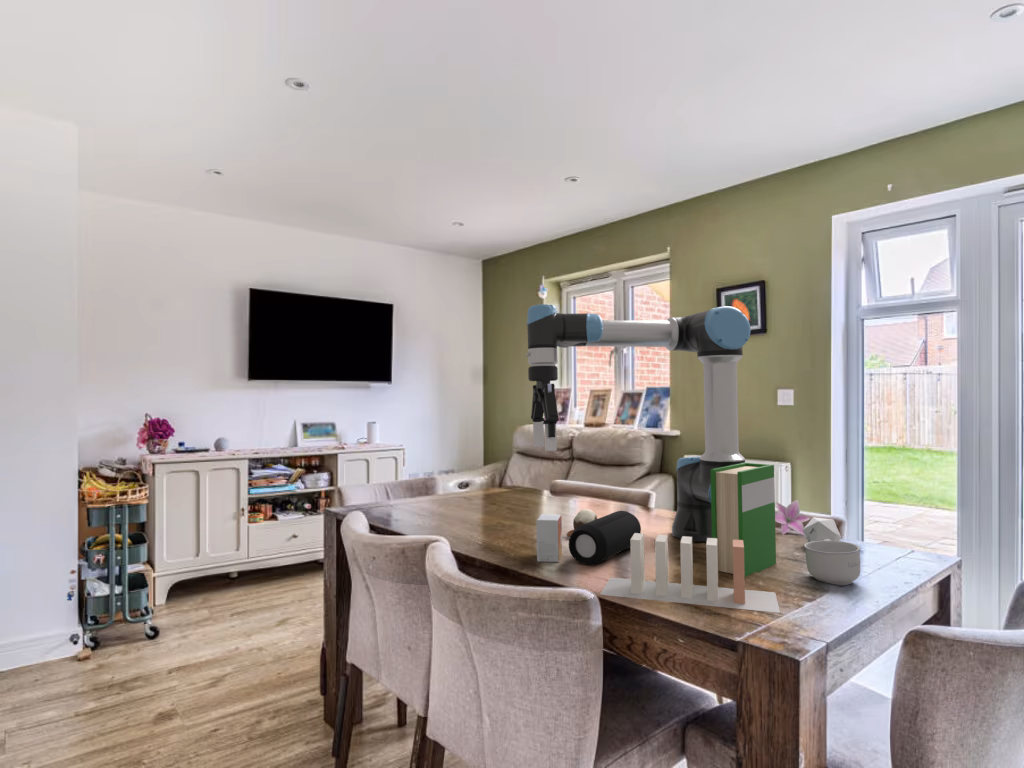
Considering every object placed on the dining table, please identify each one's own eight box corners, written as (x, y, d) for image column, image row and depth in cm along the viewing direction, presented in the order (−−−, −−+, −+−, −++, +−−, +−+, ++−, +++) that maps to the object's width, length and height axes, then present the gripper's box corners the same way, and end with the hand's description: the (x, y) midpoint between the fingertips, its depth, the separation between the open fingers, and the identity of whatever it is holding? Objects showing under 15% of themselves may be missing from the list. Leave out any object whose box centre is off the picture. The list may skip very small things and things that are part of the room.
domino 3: (681, 597, 120) (680, 542, 120) (683, 588, 126) (682, 536, 126) (691, 598, 119) (690, 543, 119) (693, 589, 125) (692, 536, 125)
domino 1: (631, 592, 123) (630, 539, 123) (635, 583, 129) (634, 533, 129) (641, 593, 123) (640, 540, 123) (644, 584, 128) (643, 533, 128)
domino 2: (655, 595, 122) (655, 541, 122) (658, 586, 127) (658, 534, 127) (666, 596, 121) (665, 541, 121) (668, 587, 127) (667, 535, 127)
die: (801, 545, 164) (793, 521, 160) (827, 529, 165) (820, 504, 160) (823, 563, 156) (816, 538, 152) (850, 546, 157) (844, 521, 153)
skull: (575, 524, 186) (595, 502, 182) (598, 550, 181) (619, 528, 178) (556, 531, 176) (577, 507, 172) (579, 558, 171) (601, 535, 168)
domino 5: (734, 602, 117) (733, 546, 117) (733, 593, 122) (732, 539, 122) (745, 604, 116) (743, 547, 116) (744, 594, 121) (743, 540, 122)
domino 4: (707, 600, 118) (706, 544, 118) (708, 590, 124) (707, 537, 124) (718, 601, 118) (716, 545, 118) (718, 591, 123) (717, 538, 123)
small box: (558, 563, 148) (558, 520, 148) (536, 562, 149) (536, 519, 149) (562, 554, 155) (562, 514, 156) (541, 553, 157) (540, 513, 157)
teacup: (860, 592, 123) (859, 553, 123) (802, 584, 129) (801, 547, 129) (862, 574, 135) (861, 539, 135) (809, 568, 141) (808, 534, 141)
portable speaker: (611, 543, 167) (610, 507, 167) (644, 547, 161) (643, 510, 162) (565, 564, 146) (565, 524, 146) (602, 571, 140) (601, 529, 141)
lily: (761, 534, 178) (767, 511, 174) (771, 515, 186) (778, 492, 182) (800, 550, 173) (807, 527, 168) (809, 529, 180) (816, 507, 176)
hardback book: (743, 580, 132) (741, 472, 133) (712, 573, 138) (710, 469, 138) (776, 563, 145) (774, 464, 145) (746, 557, 150) (744, 462, 150)
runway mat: (600, 596, 122) (599, 594, 122) (610, 579, 134) (610, 577, 134) (780, 615, 111) (780, 612, 111) (775, 594, 122) (775, 592, 122)
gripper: (519, 368, 164) (520, 445, 163) (539, 362, 139) (541, 453, 139) (545, 368, 165) (547, 444, 165) (570, 362, 141) (572, 452, 140)
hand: (544, 448), depth 152 cm, fingers open, 13 cm apart
